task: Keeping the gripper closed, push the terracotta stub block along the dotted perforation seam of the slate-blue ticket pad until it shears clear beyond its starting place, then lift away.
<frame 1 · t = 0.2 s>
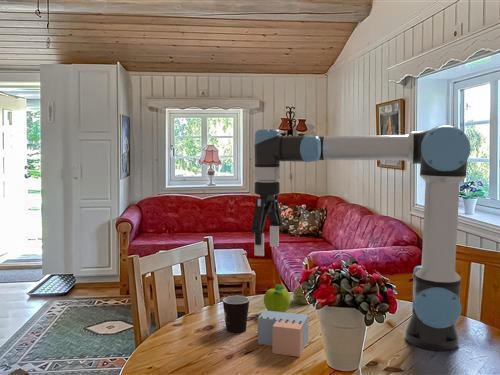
hand: (267, 251, 148), 28 cm above the table, fingers open, 13 cm apart
ticket pad: (283, 342, 148), on the table
stub: (288, 337, 141), point 4 cm above the table, slide at 0.0 cm
coffee mug: (237, 328, 159), on the table
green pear: (302, 302, 186), on the table
fruit: (276, 314, 173), on the table
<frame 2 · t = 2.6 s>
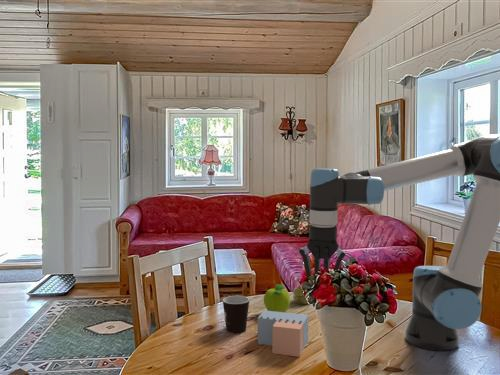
hand: (320, 309, 135), 14 cm above the table, fingers closed
nothing on the table moved.
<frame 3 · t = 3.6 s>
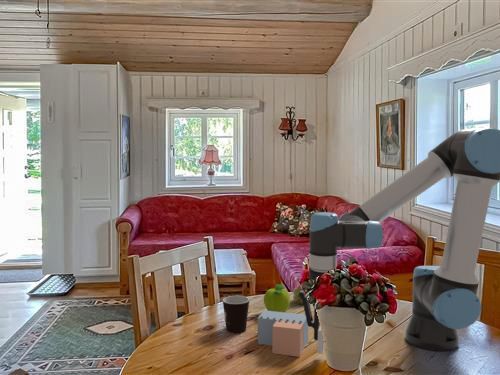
hand: (320, 351, 136), 2 cm above the table, fingers closed
nothing on the table moved.
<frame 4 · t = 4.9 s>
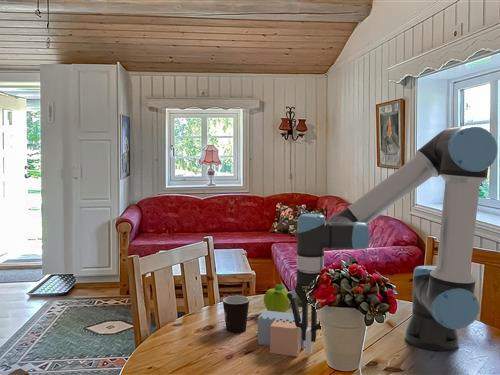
hand: (308, 351, 137), 2 cm above the table, fingers closed
stub: (285, 337, 141), point 4 cm above the table, slide at 0.7 cm, touching gripper
everything else where it was.
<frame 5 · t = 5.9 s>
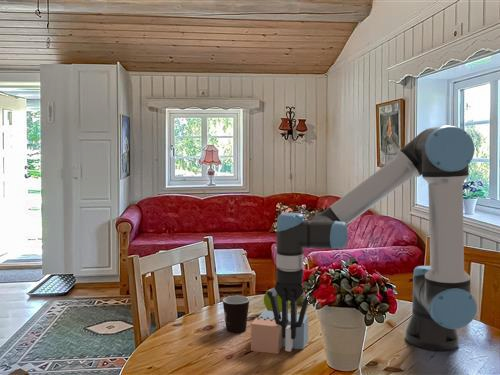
hand: (288, 349, 139), 2 cm above the table, fingers closed
stub: (266, 335, 143), point 4 cm above the table, slide at 6.4 cm, touching gripper
everything else where it was.
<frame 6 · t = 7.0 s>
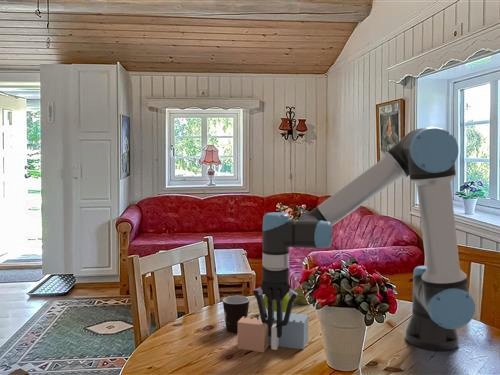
hand: (275, 347, 140), 2 cm above the table, fingers closed
stub: (253, 333, 144), point 4 cm above the table, slide at 10.6 cm, touching gripper
everything else where it was.
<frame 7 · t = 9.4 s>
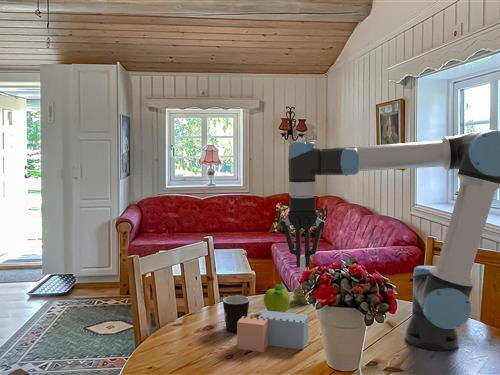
hand: (303, 277, 140), 22 cm above the table, fingers closed
stub: (252, 333, 144), point 4 cm above the table, slide at 10.7 cm
everything else where it was.
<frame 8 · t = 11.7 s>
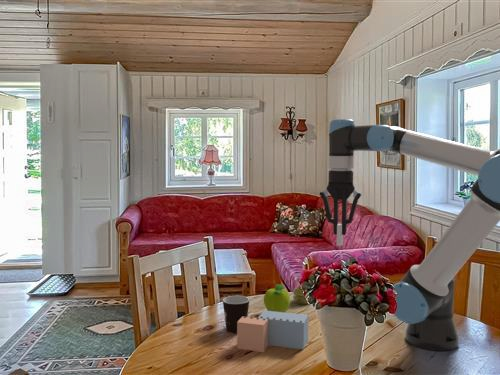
hand: (339, 244, 153), 28 cm above the table, fingers closed
nothing on the table moved.
at the end: stub slide at 10.7 cm; coffee mug moved 0.2 cm from its start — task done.
